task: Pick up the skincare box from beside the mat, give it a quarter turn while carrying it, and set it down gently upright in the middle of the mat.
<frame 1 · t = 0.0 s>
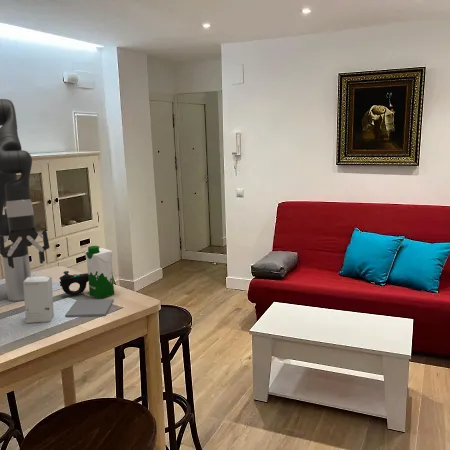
hand: (27, 265, 144), 22 cm above the table, tool pointing down, fingers open, 8 cm apart
mat: (90, 308, 166), on the table
skincare box: (41, 319, 158), on the table
controller: (77, 295, 181), on the table
milk carton: (102, 295, 180), on the table
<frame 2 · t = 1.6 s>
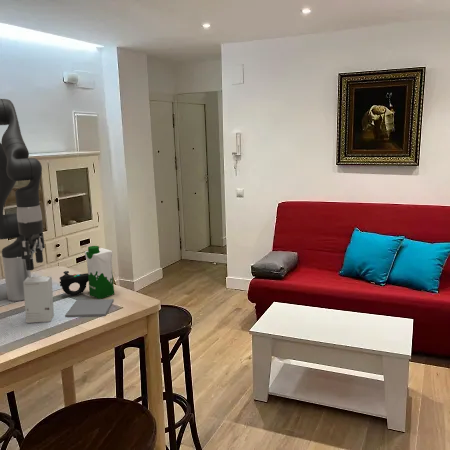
hand: (35, 266, 154), 19 cm above the table, tool pointing down, fingers open, 8 cm apart
nothing on the table moved.
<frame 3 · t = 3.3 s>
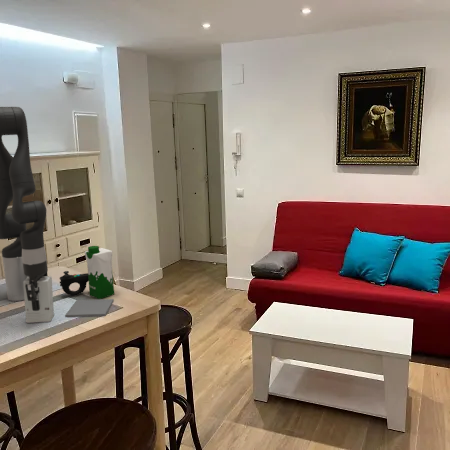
hand: (39, 306, 157), 5 cm above the table, tool pointing down, fingers closed on skincare box, 6 cm apart
skincare box: (41, 319, 158), on the table, touching gripper
everything else where it was.
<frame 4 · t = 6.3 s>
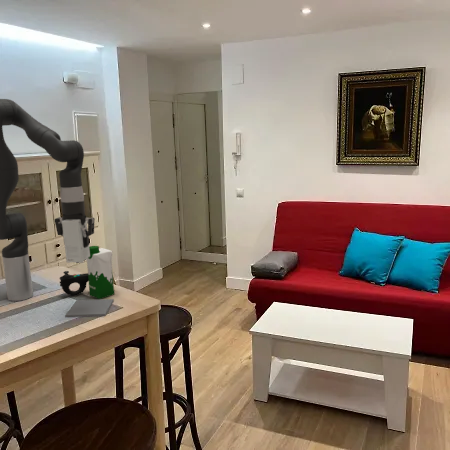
hand: (77, 246, 159), 24 cm above the table, tool pointing down, fingers closed on skincare box, 6 cm apart
skincare box: (78, 260, 160), point 19 cm above the table, touching gripper
everything else where it was.
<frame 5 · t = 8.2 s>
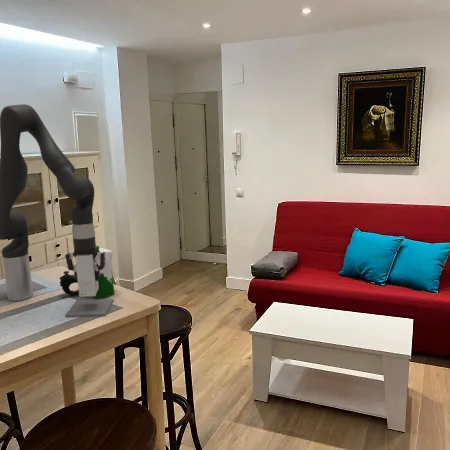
hand: (87, 280, 164), 11 cm above the table, tool pointing down, fingers closed on skincare box, 6 cm apart
skincare box: (88, 293, 165), point 6 cm above the table, touching gripper
everything else where it was.
when the fingers open (7 cm above the table, at t = 9.5 s): skincare box drops 1 cm, resting on mat.
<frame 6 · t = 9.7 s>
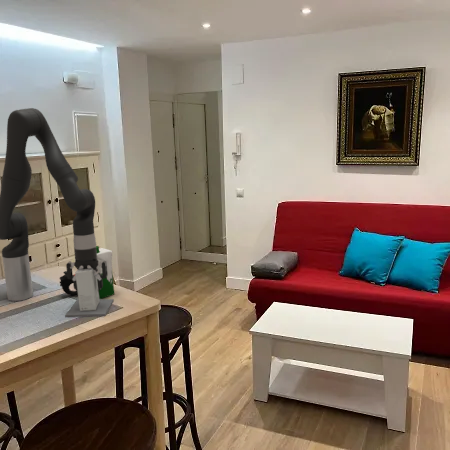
hand: (88, 289, 165), 7 cm above the table, tool pointing down, fingers open, 7 cm apart
skincare box: (89, 307, 166), point 1 cm above the table, touching mat
everything else where it was.
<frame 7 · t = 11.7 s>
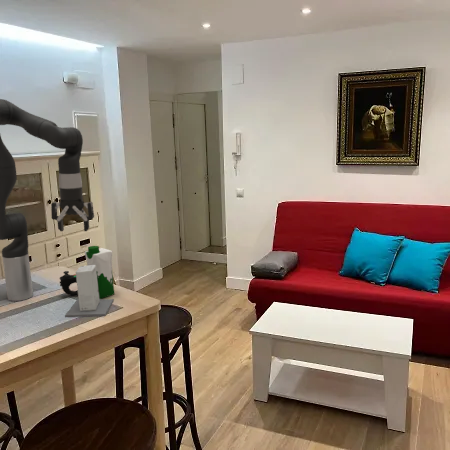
hand: (74, 230, 162), 29 cm above the table, tool pointing down, fingers open, 8 cm apart
nothing on the table moved.
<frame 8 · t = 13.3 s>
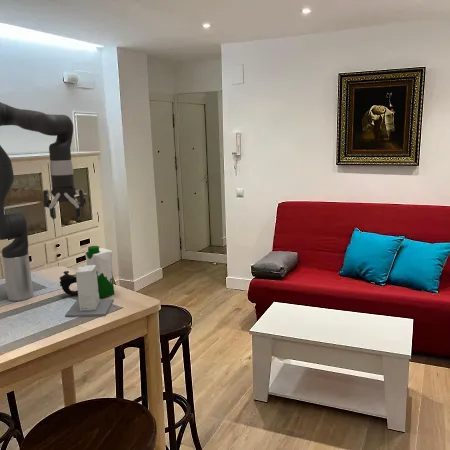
hand: (66, 218, 163), 33 cm above the table, tool pointing down, fingers open, 8 cm apart
nothing on the table moved.
at the end: skincare box inside the target area on the mat (0.3 cm from its centre), point 0.6 cm above the mat's base; skincare box tilted 0°; the gripper is holding nothing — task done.
